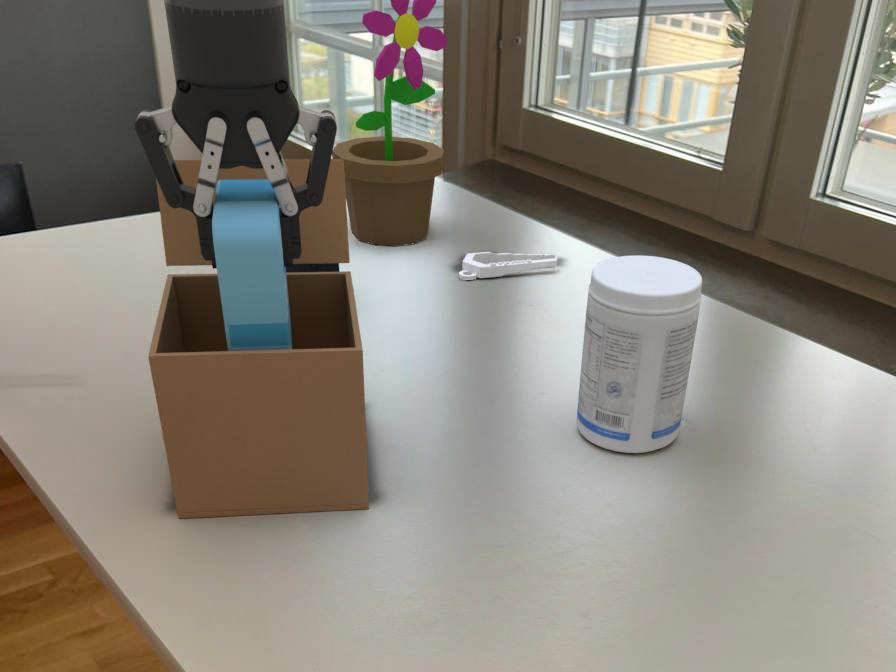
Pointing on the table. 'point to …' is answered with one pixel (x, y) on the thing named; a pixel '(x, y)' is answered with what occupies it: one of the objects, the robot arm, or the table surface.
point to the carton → (262, 403)
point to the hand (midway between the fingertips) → (253, 263)
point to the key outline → (502, 264)
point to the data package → (251, 266)
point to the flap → (317, 224)
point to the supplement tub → (637, 352)
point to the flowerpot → (394, 139)
